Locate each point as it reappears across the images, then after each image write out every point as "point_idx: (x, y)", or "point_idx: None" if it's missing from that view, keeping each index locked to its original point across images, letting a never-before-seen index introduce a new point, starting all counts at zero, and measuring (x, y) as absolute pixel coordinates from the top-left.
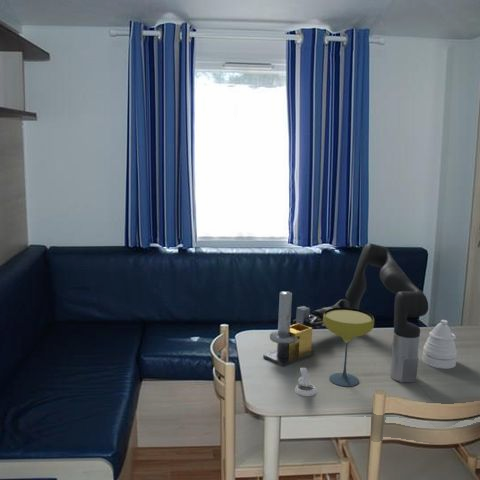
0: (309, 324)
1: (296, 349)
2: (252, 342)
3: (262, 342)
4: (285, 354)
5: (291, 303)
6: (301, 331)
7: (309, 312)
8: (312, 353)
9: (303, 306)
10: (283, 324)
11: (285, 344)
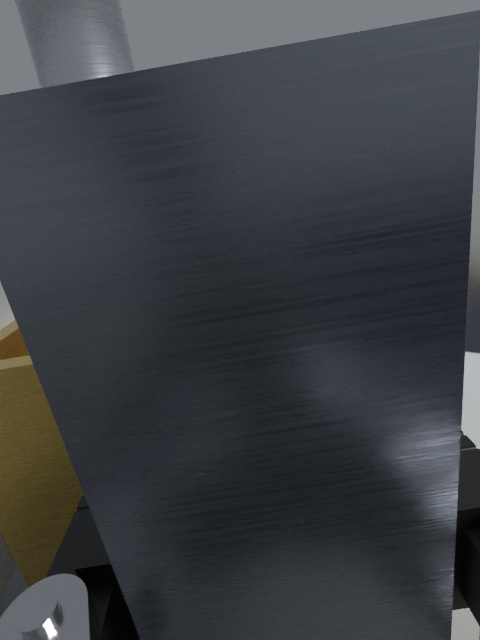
0: (64, 535)
1: None
2: (474, 390)
3: (465, 428)
4: None
5: (25, 26)
6: None
7: (35, 330)
8: (10, 586)
9: (356, 50)
10: None
11: None
